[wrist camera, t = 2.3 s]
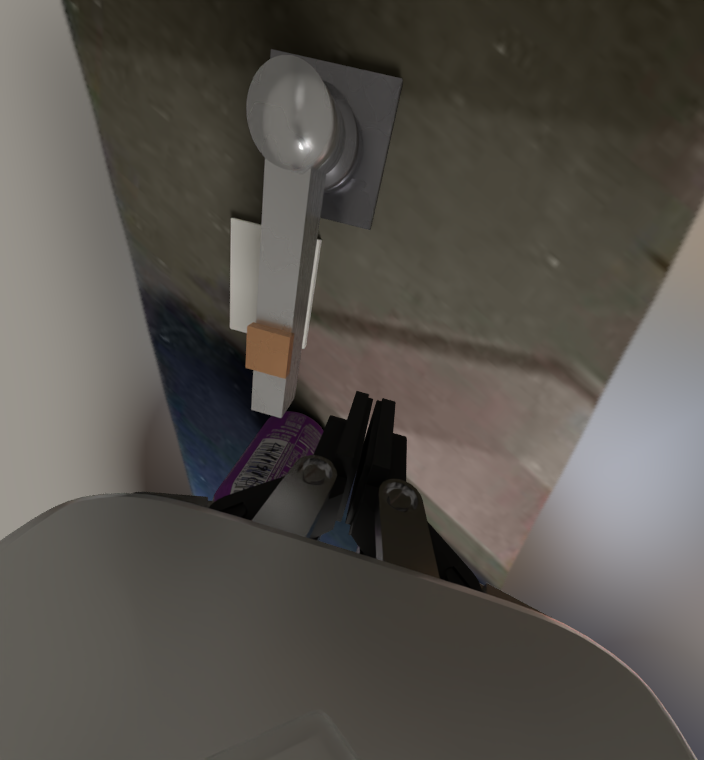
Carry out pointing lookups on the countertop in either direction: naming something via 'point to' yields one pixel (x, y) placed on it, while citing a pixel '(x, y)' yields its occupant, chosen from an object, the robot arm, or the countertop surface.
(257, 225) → the label plate
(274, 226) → the grey long bar
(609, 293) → the countertop surface
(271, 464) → the beverage can
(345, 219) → the pivot pedestal
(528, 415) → the countertop surface
